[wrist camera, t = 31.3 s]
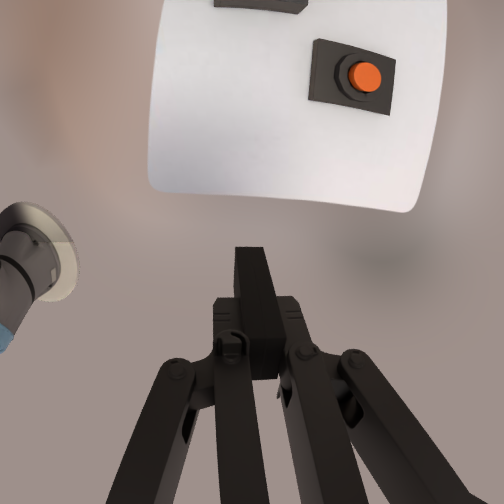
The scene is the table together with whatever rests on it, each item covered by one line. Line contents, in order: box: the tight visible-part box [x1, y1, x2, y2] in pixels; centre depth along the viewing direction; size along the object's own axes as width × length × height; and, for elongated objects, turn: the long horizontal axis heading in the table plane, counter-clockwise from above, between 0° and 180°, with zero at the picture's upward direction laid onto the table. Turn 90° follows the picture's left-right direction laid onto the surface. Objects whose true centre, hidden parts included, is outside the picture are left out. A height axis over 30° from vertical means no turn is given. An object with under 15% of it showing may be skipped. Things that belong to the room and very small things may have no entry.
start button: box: [349, 62, 381, 92], centre depth 30 cm, size 4×4×2 cm
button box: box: [308, 39, 396, 116], centre depth 32 cm, size 12×9×4 cm
